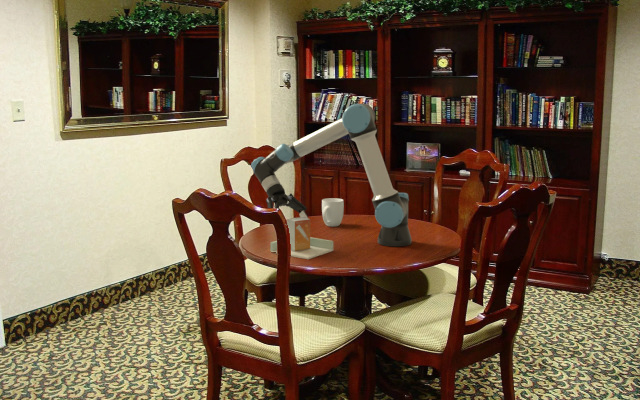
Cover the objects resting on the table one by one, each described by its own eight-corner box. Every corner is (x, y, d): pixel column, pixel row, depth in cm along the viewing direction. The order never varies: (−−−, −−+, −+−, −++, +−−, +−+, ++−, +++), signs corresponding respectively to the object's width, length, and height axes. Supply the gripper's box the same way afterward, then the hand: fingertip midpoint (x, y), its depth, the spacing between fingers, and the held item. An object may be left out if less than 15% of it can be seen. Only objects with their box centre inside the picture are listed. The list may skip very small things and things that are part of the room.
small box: (294, 251, 282) (294, 221, 280) (286, 248, 287) (286, 218, 285) (310, 248, 287) (310, 218, 285) (302, 245, 292) (302, 216, 290)
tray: (333, 250, 287) (333, 240, 286) (308, 259, 273) (308, 249, 272) (296, 244, 299) (296, 235, 298) (270, 252, 284) (270, 242, 283)
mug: (333, 229, 329) (333, 203, 327) (314, 227, 335) (314, 201, 333) (347, 224, 342) (347, 199, 340) (328, 222, 348) (328, 197, 345)
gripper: (290, 190, 304) (313, 227, 296) (247, 196, 287) (270, 236, 279) (298, 180, 300) (322, 217, 291) (254, 185, 282) (278, 225, 274)
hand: (296, 226), depth 285 cm, fingers open, 13 cm apart
